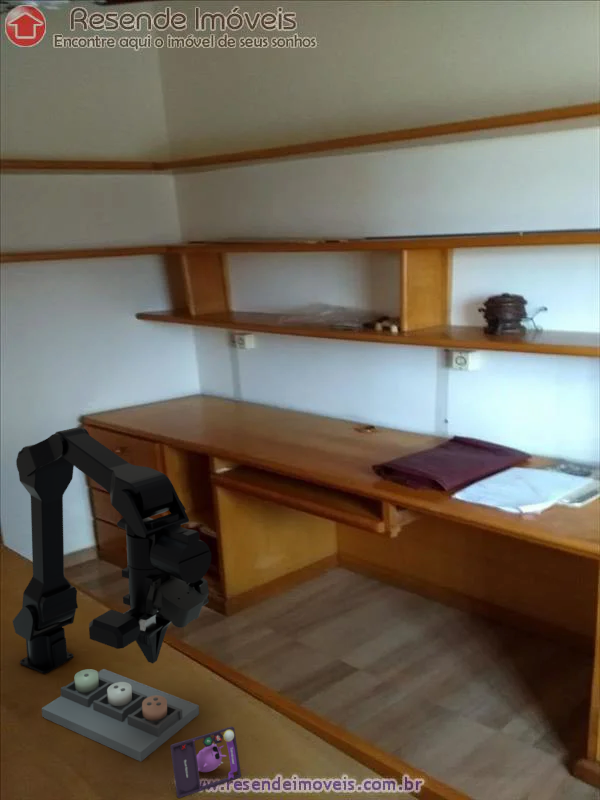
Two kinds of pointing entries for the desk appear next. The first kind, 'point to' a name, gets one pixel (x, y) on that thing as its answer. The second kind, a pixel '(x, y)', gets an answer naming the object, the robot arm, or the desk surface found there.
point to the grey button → (119, 694)
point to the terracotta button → (154, 708)
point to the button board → (119, 716)
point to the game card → (203, 761)
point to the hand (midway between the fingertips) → (152, 661)
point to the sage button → (86, 680)
